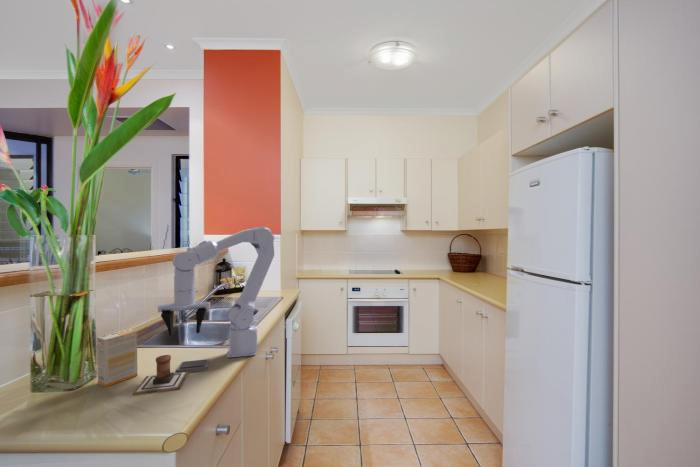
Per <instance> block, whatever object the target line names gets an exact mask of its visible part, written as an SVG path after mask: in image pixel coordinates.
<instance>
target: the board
mask: <svg viewBox="0 0 700 467" xmlns="http://www.w3.org/2000/svg"><path fill="white" fill-rule="evenodd" d="M189 373H190V372H182V373H176V372H174V377H173V378H172V380H171V381H170V383H165V384H156V385H153V380H154V378H155V377H156V376H157V374H155V375H146V376H145V377H144V379H142V381H141V382H140V383H139V385H138V386H136V388H135V389H134V390H133V392H132V393H131V394H132V396H134V395H136V396H137V395H145V394H152V393H153V394H154V393H161V392H171V391H172V392H173V391H177V390H178V391H179V390H181V389H182V386H183V384H184V383H185V381H186V379H187V377H188V375H189Z"/></svg>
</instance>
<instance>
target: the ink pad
mask: <svg viewBox="0 0 700 467" xmlns="http://www.w3.org/2000/svg"><path fill="white" fill-rule="evenodd" d="M209 365H210V359H209V358H208V359H207V358H206V359H198V360H197V359H196V360H186V361H181V362H180V364H179V366H177V368H176V369H175V370H176V372H175V373H182V372H189V373H191V372H202V371H203V372H204V371H207V368H208V367H207V366H209Z"/></svg>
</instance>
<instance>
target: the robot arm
mask: <svg viewBox="0 0 700 467" xmlns="http://www.w3.org/2000/svg"><path fill="white" fill-rule="evenodd" d="M274 241H275V236H274V234H273V232H272V230H271V229H270V228H268V227H266V226H260V227H258V226H257V227H256V226H255V227H254V226H253V227H250V228H247V229H243V230H240V231H238V232H235V233H233V234H231V235H229V236H227V237H224V238H222V239H220V240H218V241H216V242H215V241H212V240H208V241H207V240H203V241H201V243H200V244H197V245H196V246H194V247H187V248H186V251H185V250H183V251H179V252H177V253H176V254H175V255H174V256H173V259H172V265H173V266H174V270H173V271H174V272H173V273H174V276H173V292H174V294H173V297H174V299H173V300H174V301H173V303H166V304H159V305H158V306H157V313H161V314H160V317H161V319H162V320H163V322H164V323H165V325H166V329H167V331H168V335H169V336H172V335H174V332H175V331H174V330H175V328H174V317H175V315H174V313H175V312H177V311H178V312H179V311H194V310H195V318H196V325H195V326H196V328H195V331H196V332H195V333H196V334H200V332H201V329H202V328H201V327H202V323H203V319H204V317H205V315H206V313H207V310H210V309H211V301H196V299H195V298H196V295H195V294H196V292H195V290H196V288H195V287H196V286H195V284H196V282H195V280H196V279H195V278H196V277H195V267H196V265H197V266H198V265H201V264H204V263H206V262H207V261H210V260H212V259H215V258H218V256H219V254H220V252H221V251H223V250H225V249H226V250H227V249H228V248H230V247H235V246H236V245H239V244H241V243H249V244H251V245H252V247H254V249H255V251H256V254H257V258H256V260H255V262H254V265H253V267H252V269H251V271H250V273H249V276H248V278H247V279H246V283H245V284H244V287H243V289H242V292H241V294H240V296H239V297H237V299H236V300H235V302H234V304H233V305H232V306H231V307H230V308H229V309H228V312H227V316H226V317H227V319H228V320H229V322H230V325H228V336H229V337H228V343H229V344H228V346H229V349H228V352H227V354H226V358H227V359H228V358H237V357H246V356H247V357H249V356H256V355H258V348H259V341H258V325H252V324H253V322H254V312H255V310H256V305H255V303H256V302H255V301H256V300H257V297H258V295H259V292H260V290H261V288H262V286H263V284H264V281H265V278H266V276H267V274H268V271H269V269H270V267H271V264H272V262H273V260H274V257H275V246H274Z"/></svg>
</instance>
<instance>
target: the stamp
mask: <svg viewBox="0 0 700 467" xmlns="http://www.w3.org/2000/svg"><path fill="white" fill-rule="evenodd" d="M171 360H172V356H171V355H170V354H164V355H159V356H157V357H155V363H156V375H157V376H156V377H155V378H154V380H153V385H156V384H165V383H170V381H171V380H172V378H173V377H174V373H175V372H171Z"/></svg>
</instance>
